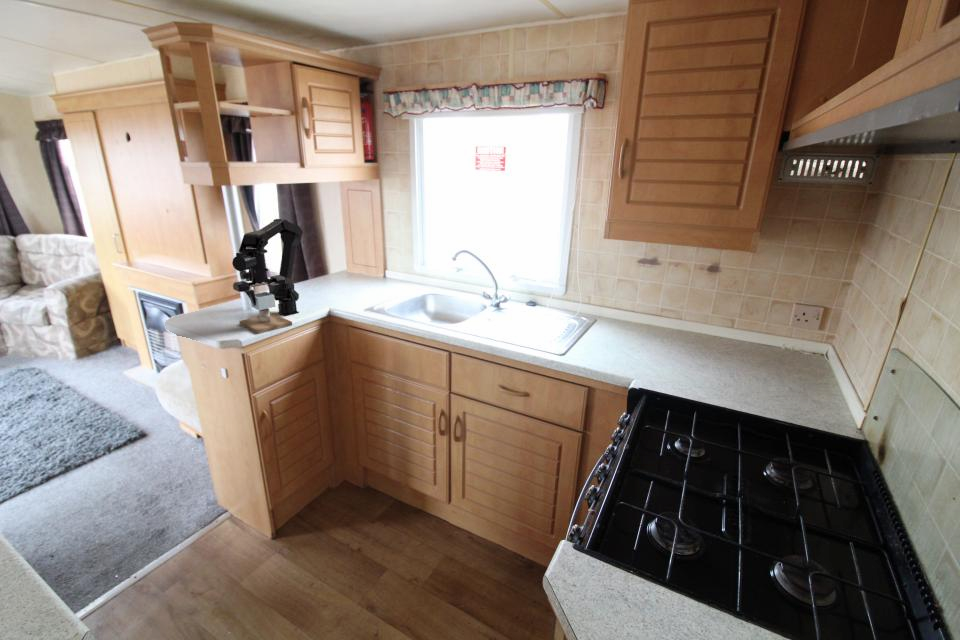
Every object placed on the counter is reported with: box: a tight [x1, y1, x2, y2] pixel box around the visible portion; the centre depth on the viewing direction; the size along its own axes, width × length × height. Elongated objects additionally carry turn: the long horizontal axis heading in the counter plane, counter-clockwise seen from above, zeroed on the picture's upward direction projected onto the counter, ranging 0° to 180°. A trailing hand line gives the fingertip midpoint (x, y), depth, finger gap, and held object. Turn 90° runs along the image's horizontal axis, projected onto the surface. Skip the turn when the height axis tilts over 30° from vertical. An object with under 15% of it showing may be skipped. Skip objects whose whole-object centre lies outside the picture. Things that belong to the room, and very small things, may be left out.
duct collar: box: [250, 291, 276, 311], centre depth 182 cm, size 7×7×5 cm
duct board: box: [238, 308, 293, 335], centre depth 184 cm, size 14×16×6 cm
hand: (263, 303), depth 182 cm, fingers closed on duct collar, 7 cm apart
